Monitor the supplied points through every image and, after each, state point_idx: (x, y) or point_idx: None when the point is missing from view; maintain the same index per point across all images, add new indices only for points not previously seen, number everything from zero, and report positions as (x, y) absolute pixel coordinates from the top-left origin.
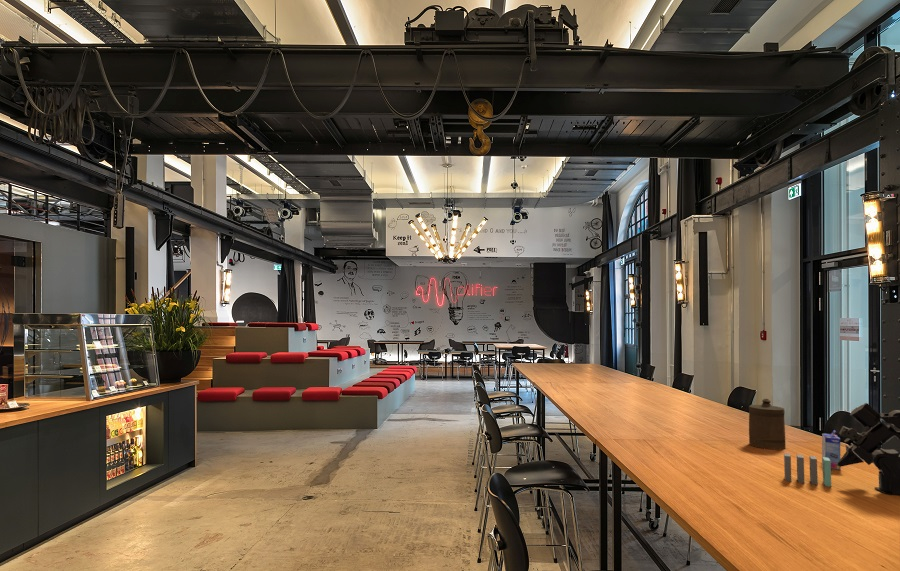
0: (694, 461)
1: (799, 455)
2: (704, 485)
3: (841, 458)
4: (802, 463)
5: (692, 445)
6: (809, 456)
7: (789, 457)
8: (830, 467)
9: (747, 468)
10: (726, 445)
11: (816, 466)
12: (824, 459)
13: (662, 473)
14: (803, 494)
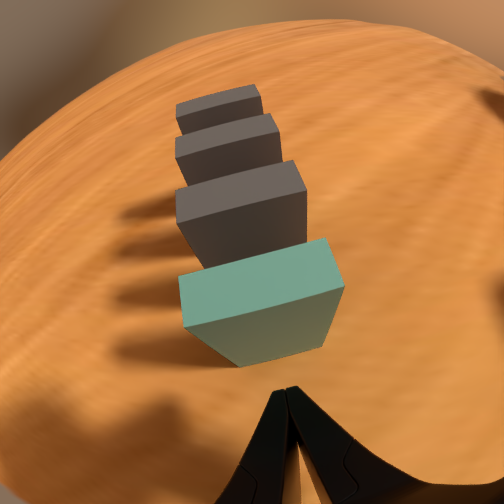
0: (274, 52)
1: (243, 127)
2: (77, 127)
3: (322, 426)
4: (187, 181)
5: (414, 44)
6: (287, 165)
7: (178, 119)
8: (206, 342)
9: (307, 99)
10: (482, 76)
11: (196, 253)
12: (213, 271)
13: (134, 75)
14: (58, 280)
